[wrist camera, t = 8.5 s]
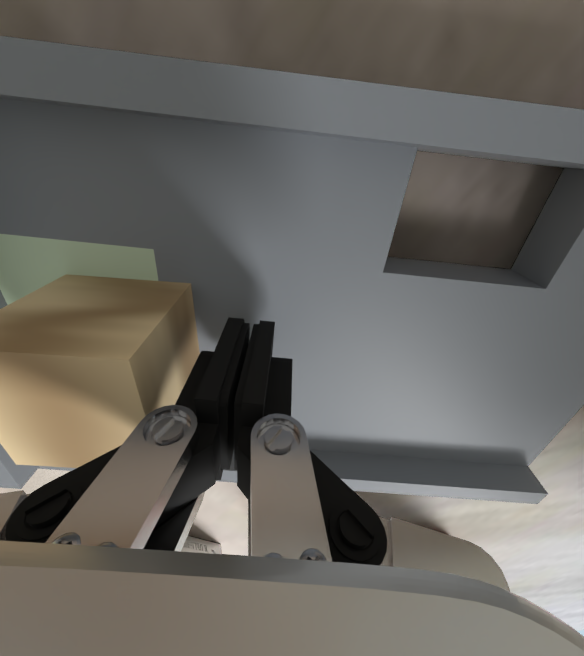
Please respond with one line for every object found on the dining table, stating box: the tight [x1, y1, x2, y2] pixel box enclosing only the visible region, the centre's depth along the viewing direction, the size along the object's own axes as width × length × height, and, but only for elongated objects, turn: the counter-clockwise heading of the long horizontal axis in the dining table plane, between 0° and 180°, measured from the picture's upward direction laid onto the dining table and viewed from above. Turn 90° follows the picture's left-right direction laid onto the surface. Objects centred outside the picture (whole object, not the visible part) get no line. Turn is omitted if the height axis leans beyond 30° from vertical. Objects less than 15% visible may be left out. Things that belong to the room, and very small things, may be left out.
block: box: [0, 274, 200, 468], centre depth 10 cm, size 4×4×4 cm
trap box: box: [0, 36, 584, 504], centre depth 11 cm, size 26×16×5 cm, turn 84°
